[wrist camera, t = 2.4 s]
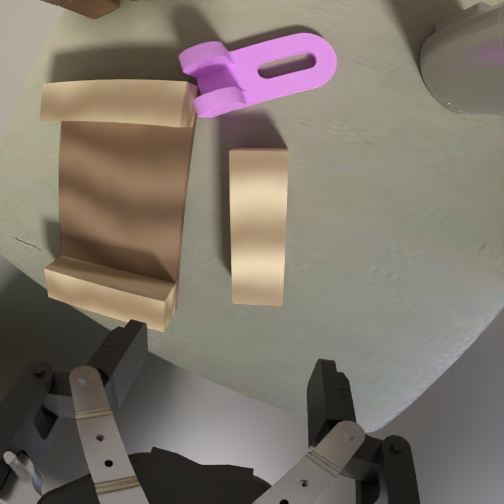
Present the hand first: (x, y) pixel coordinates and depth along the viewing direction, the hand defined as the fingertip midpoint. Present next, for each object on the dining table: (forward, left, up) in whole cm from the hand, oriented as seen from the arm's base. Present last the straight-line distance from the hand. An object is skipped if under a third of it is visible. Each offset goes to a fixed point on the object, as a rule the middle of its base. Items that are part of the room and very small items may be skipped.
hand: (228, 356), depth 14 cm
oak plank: (0, 0, -20) cm, 20 cm away
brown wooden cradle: (0, -16, -20) cm, 26 cm away
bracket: (-15, -2, -21) cm, 25 cm away
